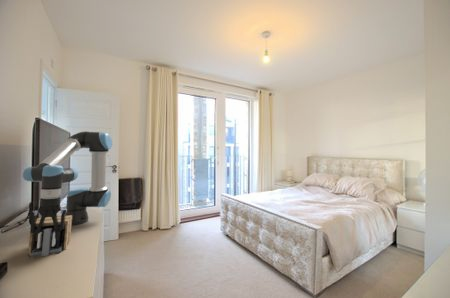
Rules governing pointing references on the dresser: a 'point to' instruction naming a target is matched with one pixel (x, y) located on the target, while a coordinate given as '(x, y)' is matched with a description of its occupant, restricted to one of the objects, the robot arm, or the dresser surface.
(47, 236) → the tray
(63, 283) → the dresser surface
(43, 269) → the dresser surface
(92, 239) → the dresser surface
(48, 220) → the cubby
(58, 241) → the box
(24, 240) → the dresser surface
